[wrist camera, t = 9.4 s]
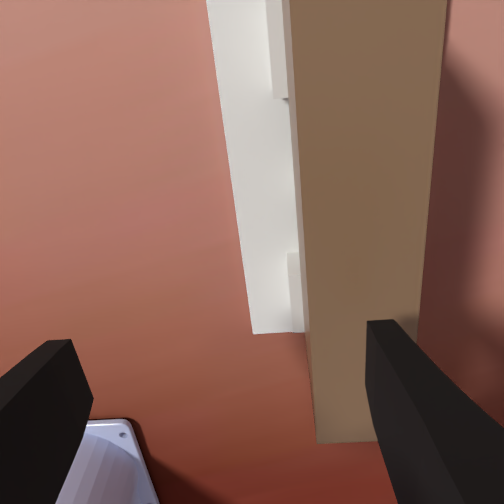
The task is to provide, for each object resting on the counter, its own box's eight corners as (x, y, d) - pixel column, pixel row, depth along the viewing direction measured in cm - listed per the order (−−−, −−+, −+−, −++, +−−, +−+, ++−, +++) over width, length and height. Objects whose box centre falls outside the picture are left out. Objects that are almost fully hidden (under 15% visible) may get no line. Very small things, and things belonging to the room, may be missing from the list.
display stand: (413, 315, 22) (429, 350, 20) (253, 326, 23) (251, 360, 20) (446, -81, 14) (478, -96, 12) (201, -47, 15) (190, -56, 13)
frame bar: (373, 331, 19) (407, 439, 15) (305, 336, 20) (316, 443, 15) (383, -51, 13) (454, -83, 8) (279, -37, 13) (285, -59, 8)
